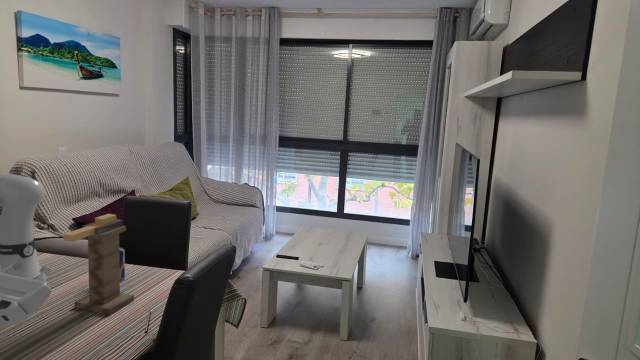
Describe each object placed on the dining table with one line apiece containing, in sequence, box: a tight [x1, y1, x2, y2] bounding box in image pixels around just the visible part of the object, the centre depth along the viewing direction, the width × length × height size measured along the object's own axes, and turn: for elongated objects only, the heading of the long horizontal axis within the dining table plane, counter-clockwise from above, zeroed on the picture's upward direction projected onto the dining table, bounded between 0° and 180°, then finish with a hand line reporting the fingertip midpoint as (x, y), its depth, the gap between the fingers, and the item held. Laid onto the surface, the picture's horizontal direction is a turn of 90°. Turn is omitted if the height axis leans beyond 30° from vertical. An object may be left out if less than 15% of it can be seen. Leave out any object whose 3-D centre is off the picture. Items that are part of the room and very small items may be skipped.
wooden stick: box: [63, 213, 117, 243], centre depth 129 cm, size 3×18×4 cm, turn 166°
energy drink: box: [119, 247, 126, 282], centre depth 156 cm, size 5×5×12 cm
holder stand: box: [74, 218, 135, 316], centre depth 136 cm, size 14×11×28 cm
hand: (33, 265), depth 110 cm, fingers open, 8 cm apart
